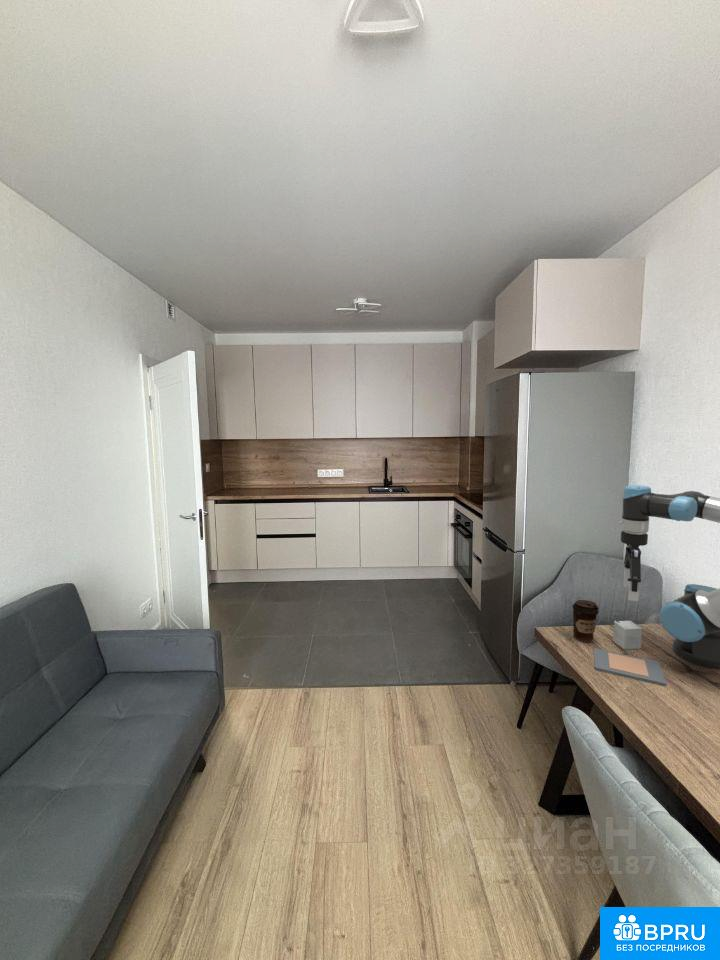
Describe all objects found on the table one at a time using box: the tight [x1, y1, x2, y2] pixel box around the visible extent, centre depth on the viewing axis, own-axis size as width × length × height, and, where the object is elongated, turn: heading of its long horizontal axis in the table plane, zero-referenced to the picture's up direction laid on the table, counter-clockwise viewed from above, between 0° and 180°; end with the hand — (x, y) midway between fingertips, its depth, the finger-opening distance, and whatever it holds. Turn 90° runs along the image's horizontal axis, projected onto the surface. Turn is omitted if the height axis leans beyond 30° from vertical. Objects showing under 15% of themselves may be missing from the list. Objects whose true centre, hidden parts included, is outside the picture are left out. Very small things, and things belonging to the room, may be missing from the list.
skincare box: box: [612, 620, 643, 650], centre depth 144 cm, size 6×6×7 cm
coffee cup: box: [572, 599, 600, 643], centre depth 148 cm, size 9×8×13 cm
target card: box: [593, 647, 667, 687], centre depth 131 cm, size 18×13×1 cm
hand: (630, 593), depth 142 cm, fingers open, 13 cm apart
